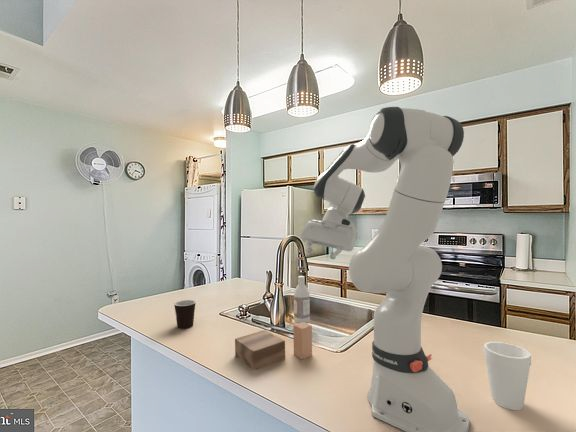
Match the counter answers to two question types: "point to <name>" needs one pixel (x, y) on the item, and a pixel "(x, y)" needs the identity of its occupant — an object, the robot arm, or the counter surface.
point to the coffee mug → (185, 313)
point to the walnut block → (259, 349)
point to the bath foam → (301, 302)
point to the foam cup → (507, 373)
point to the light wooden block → (302, 340)
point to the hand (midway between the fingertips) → (320, 255)
